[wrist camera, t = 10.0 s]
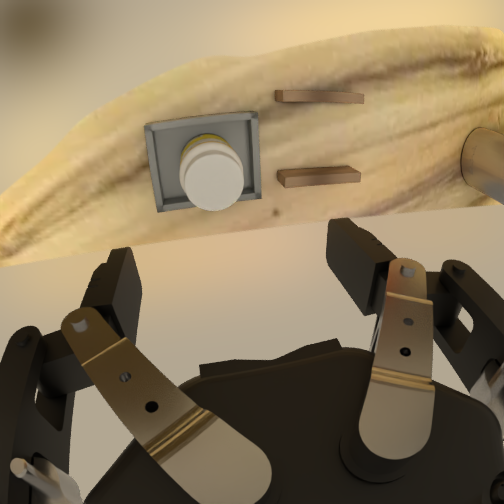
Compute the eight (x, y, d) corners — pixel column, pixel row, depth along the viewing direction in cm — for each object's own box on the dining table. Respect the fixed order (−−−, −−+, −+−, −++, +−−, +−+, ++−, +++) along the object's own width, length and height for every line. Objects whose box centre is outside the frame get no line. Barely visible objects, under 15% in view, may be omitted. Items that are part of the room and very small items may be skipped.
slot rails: (351, 92, 26) (363, 93, 24) (348, 175, 31) (360, 182, 29) (275, 90, 25) (283, 90, 23) (277, 180, 30) (285, 187, 28)
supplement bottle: (227, 185, 28) (242, 221, 21) (177, 179, 27) (174, 214, 20) (236, 135, 26) (256, 154, 19) (184, 129, 25) (182, 144, 18)
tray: (252, 110, 26) (257, 112, 24) (256, 191, 30) (261, 198, 28) (147, 123, 24) (144, 125, 23) (159, 204, 28) (157, 212, 27)
